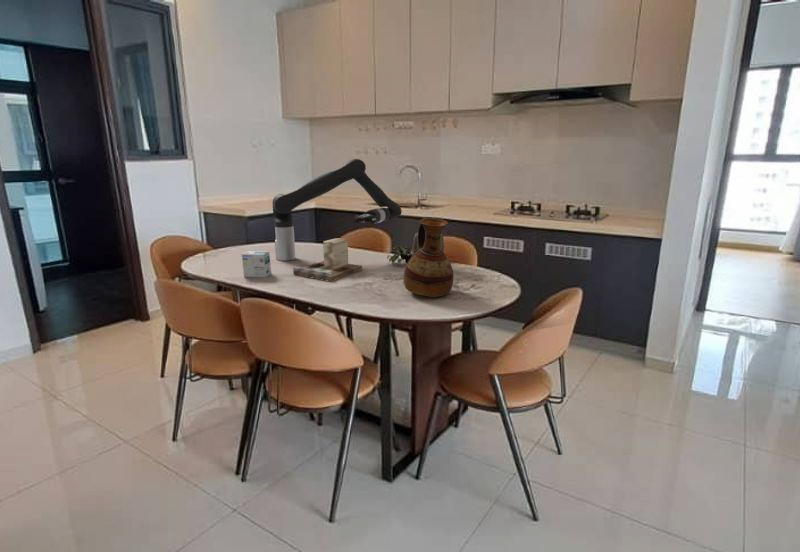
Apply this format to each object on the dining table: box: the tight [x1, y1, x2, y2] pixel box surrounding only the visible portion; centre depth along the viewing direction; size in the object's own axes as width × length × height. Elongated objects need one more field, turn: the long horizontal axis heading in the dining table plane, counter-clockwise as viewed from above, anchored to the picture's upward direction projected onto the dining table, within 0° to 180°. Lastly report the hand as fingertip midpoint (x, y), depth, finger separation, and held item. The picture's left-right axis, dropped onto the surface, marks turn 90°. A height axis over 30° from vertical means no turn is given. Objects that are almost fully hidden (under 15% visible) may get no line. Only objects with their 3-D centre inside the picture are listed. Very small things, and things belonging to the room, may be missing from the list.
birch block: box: [322, 237, 349, 268], centre depth 220 cm, size 6×10×12 cm, turn 148°
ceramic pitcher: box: [403, 217, 454, 297], centre depth 182 cm, size 20×20×30 cm
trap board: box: [292, 260, 363, 282], centre depth 217 cm, size 22×23×4 cm
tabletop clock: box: [411, 216, 445, 255], centre depth 217 cm, size 14×9×25 cm, turn 83°
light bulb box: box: [241, 250, 272, 278], centre depth 211 cm, size 11×7×11 cm, turn 84°
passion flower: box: [386, 245, 413, 267], centre depth 229 cm, size 11×11×12 cm
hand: (355, 220), depth 229 cm, fingers closed
